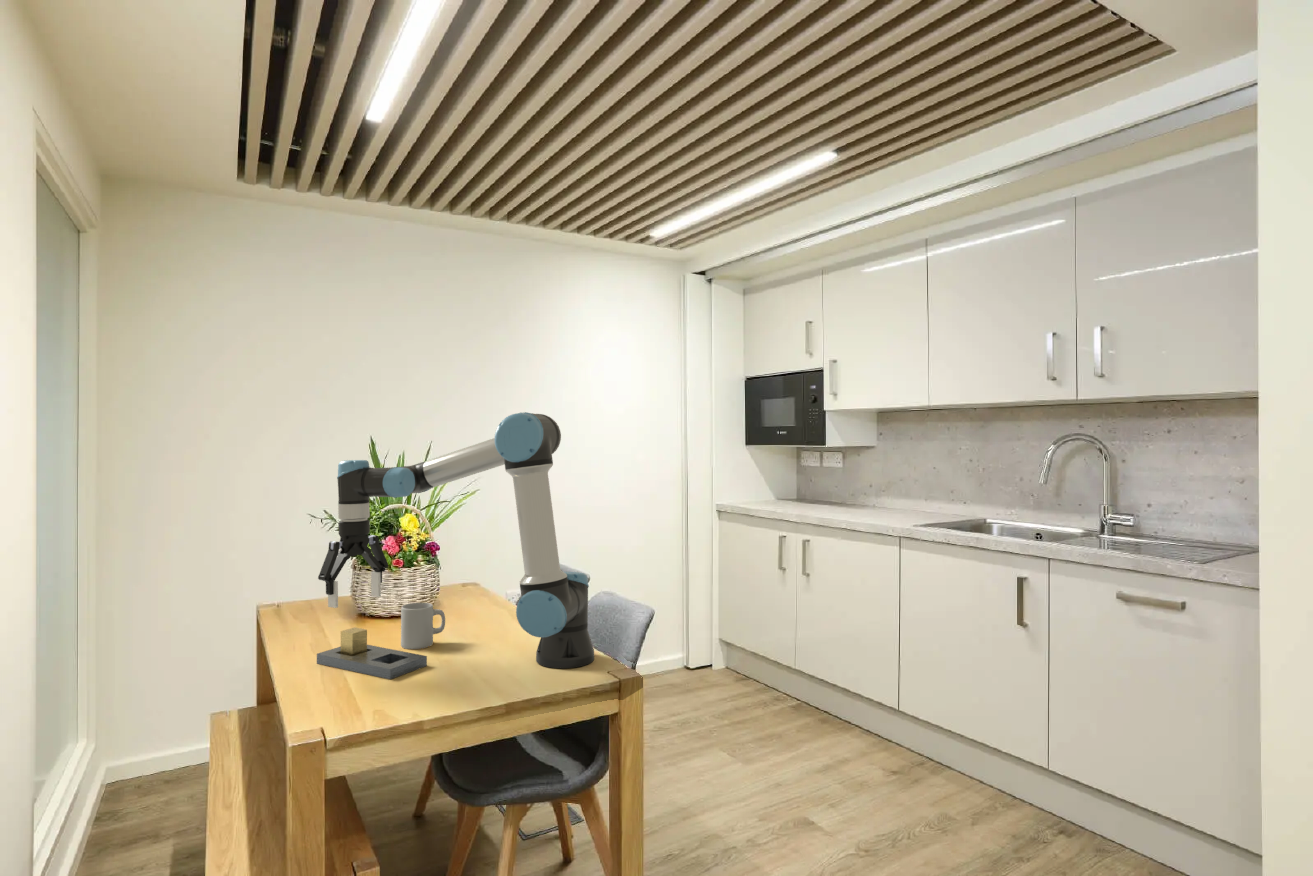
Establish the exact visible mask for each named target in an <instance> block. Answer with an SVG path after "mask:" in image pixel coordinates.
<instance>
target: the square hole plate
mask: <svg viewBox="0 0 1313 876" xmlns="http://www.w3.org/2000/svg"><path fill="white" fill-rule="evenodd" d="M316 664H317V665H322V666H327V667H331V668H335V669H340V670H344V671H349V672H353V673H354V672H355V673H359V674H364V675H368V676H372V677H377V678H381V679H387V680H392V679H393V680H394V679H395V678H398V677H400V676H403V675H406V674H408V673H409V674H410V673H412V672H414V671H418V670H419V668H420V669H422V668H425V667H427V666H428V656H427V655H425V654H424V655H423V654H418V653H412V652H407V651H403V650H397V649H392V648H388V647H387V648H386V647H383V646H381V647H380V646H376V645H371V644H367V652H364V653H361V654H358V655H355V656H348V655H343V654H341V646H338V647H334V648H332V649H331V648H330V649H328V650H324V651H321V652H319V653H316Z"/></svg>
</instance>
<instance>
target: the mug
mask: <svg viewBox="0 0 1313 876" xmlns="http://www.w3.org/2000/svg"><path fill="white" fill-rule="evenodd" d="M400 613H401V614H400V624H401V625H400V646H401V648H403V649H405V650H422V649H426V648H429V647H431V646H433V643H434V635H437V634H440V633H442V632H444V629H445V627H446V615H445V611H443V610H442V609H440V608H439V609H438V608H434V606H433V604H432V603H430V602H410V603H406V604H403V605H402V606H401V608H400ZM435 616H440V617H441V624H440V626H439V627H434V624H433V622H434V617H435ZM428 646H429V647H428ZM421 648H422V649H421Z"/></svg>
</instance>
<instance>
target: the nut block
mask: <svg viewBox="0 0 1313 876" xmlns="http://www.w3.org/2000/svg"><path fill="white" fill-rule="evenodd" d="M367 645H368V629H366V628H362V627H361V628H360V627H356V626H355V627H352V628H348V629H344V630H341V631H340V647H341V654H343V655H348V656H355V655H358V654H361V653H364V652H367Z"/></svg>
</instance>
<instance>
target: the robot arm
mask: <svg viewBox="0 0 1313 876" xmlns="http://www.w3.org/2000/svg"><path fill="white" fill-rule="evenodd" d="M561 440H562V433H561V429H560V426H559V425H558V423H557V421H556V420H554V419H553V418H552V417H550V416H548V415H547V414H543V413H531V412H525V411H524V412H519V413H512V414H510V415H508V416H506V417H504V418H503V419H502V420H501V422H500V423H499V424H498V425H497V428H496V430H495V434H494V437H493V438H489V439H487V440H485V441H481V442H478V443H475V444H473V445H468V446H467V447H464V448H460V449H458V450H455V451H452V452H449V453H446V454H442V455H439V456H436V457H434V458H431V459H428V460H425V461H422V462H421V461H420V462H418V463H416V464H412V465H405V466H394V467H393V466H392V467H370V464H369V461H368V460H366V459H351V460H350V459H349V460H348V459H347V460H341V461H340V462H339V463H338V466H337V476H336V479H337V490H338V493H337V494H338V503H337V506H338V508H337V509H338V511H337V512H338V513H337V515H338V519H339V520H340V521H338V523H337V524H338V535H339V537H340V539H339V541H334V540H330V541H329V542H328V551H327V554H326V555H325V559H324V561H323V564H322V566H321V569H320V572H319V574H318V577H317V579H318V580H319V581H322V582H325V594H326V595H327V607H328V608H334V609H337V608H339V581H337V580H336V579H337V578H338V576H339V575H340V572H341V571H342V570H343V567H344V566H345V565H346V562H347V561H348V560H349V559H350V558H351V557H353V558H354V557H356V556H362V557H363V559H364V561H366V563H368V565H369V567H370V568H371V569H372V570H373V571H370V585H371V586H370V590H371V591H370V595H371V597H376V598H382V594H381V593H382V590H381V587H382V586H381V584H382V583H383V573H384V572H386V569H388V567H389V563H388V561H387V558H386V556H385V553H384V551H383V549H382V547H381V545H380V539H379V538H380V537H379V535H375V534H370V532H371V527H370V526H371V521H370V520H369V518H370V512H371V511H370V498H373V497H374V498H375V497H376V498H377V497H379V498H393V499H394V498H395V499H397V498H403V497H404V498H406V497H409V496H411V494H422V493H425V492H428V491H429V490H431V489H433V488H435V487H436V488H437V487H438V486H439V487H440V486H442V485H444V484H449V483H452V482H455V481H458V480H460V479H464V478H467V477H470V476H473V475H477V474H479V473H482V472H486V471H488V470H492V469H495V468H499V467H502V466H504V469H505V470H504V471H505V472H506V473H507V474H508V475H510V476H511V477H512V481H513V489H514V496H515V504H516V507H515V508H516V512H517V513H516V514H517V522H518V530H519V537H520V546H521V552H522V554H521V555H522V560H523V561H522V562H523V569H524V570H523V571H524V575H523V577H522V578H521V579H520V581H519V587H520V588H519V589H520V598H519V601H518V603H517V605H516V611H515V613H516V614H515V615H516V619H517V621H518V624H519V625H520V627H521V629H523V631H524V632H526V633H527V634H529V635H530V636H533V637H536V638H540V639H539V643H538V645H537V649H536V651H535V655H536V656H535V661H536V663H537V664H538V665H540V666H542V667H547V668H552V669H553V668H554V669H572V668H573V669H574V668H580V667H583V666H587V665H590V664H591V663H593V662H594V660H595V649H594V647H593V646H594V645H593V643H592V639H591V637H590V636H591V635H590V633H589V629H588V625H589V624H588V623H589V621H588V619H589V588H590V586H589V579H588V575H587V574H586V573H584V572H578V571H577V572H576V571H563V570H562V569H561V566H560V558H559V551H558V544H557V543H558V542H557V536H556V534H557V533H556V527H555V520H554V510H553V503H552V494H551V487H550V480H549V471H550V469H552V467H553V465H554V460H553V454H555V453H556V451H557V450H558V449H559V447H560V444H561ZM369 534H370V535H369ZM368 545H369V546H368ZM369 547H370V548H369Z"/></svg>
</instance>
